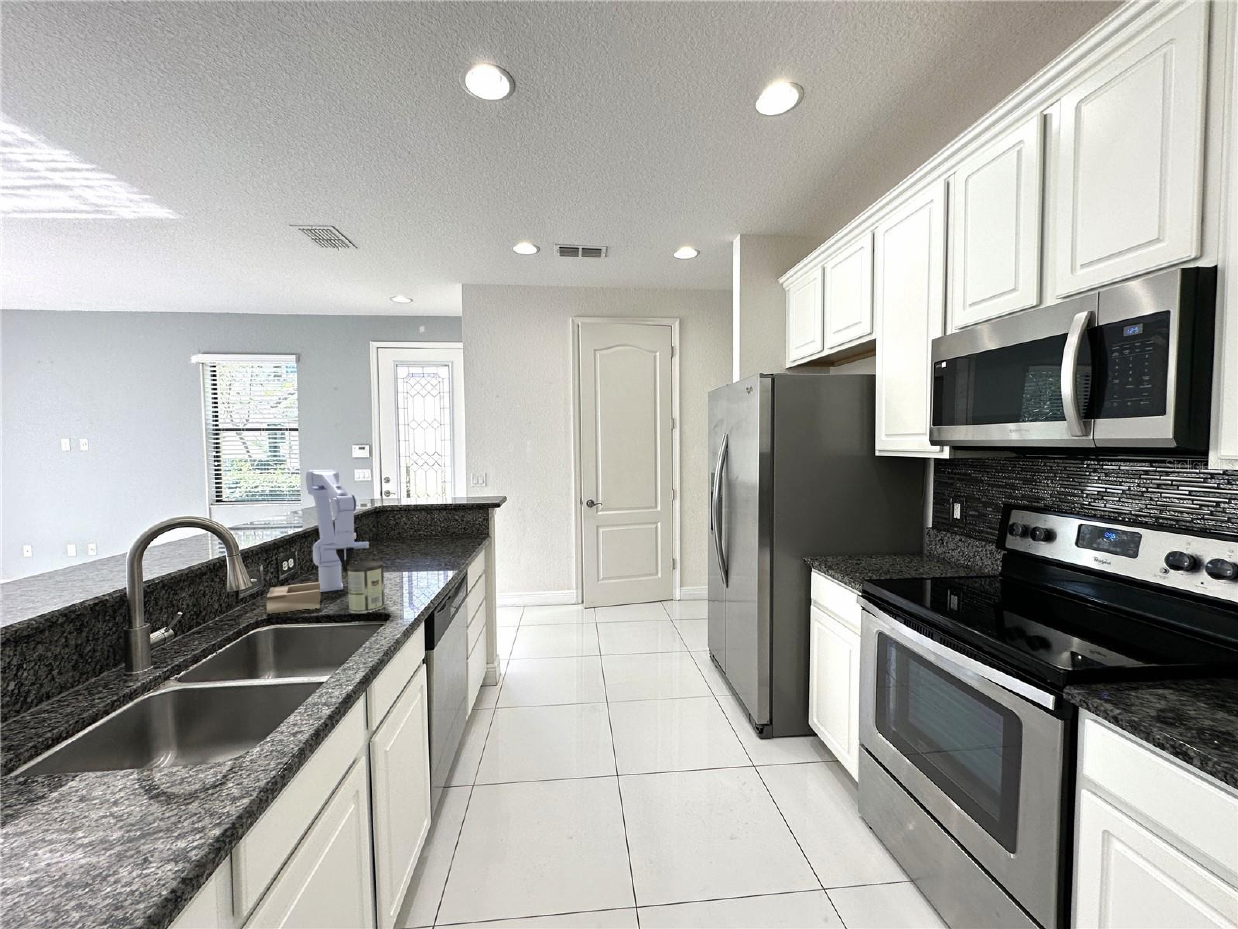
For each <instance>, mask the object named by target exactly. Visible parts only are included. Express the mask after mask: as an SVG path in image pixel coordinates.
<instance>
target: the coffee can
mask: <svg viewBox="0 0 1238 929" xmlns="http://www.w3.org/2000/svg"><path fill="white" fill-rule="evenodd" d="M347 569H348V571H347V583H348V585H347V586H348V593H347V594H348V612H349V613H351V614H368V613H367V612H370V611H373V610H377V609H380V610H382V609H384V608H385V592H384V591H385V590H384V589H385V588H384V562H382V561H378V560H377V561H376V560H375V561H374V560H373V561H372V560H370V561H361V562H354V563H352V564H349V566H347ZM383 607H384V608H383ZM370 613H371V612H370Z"/></svg>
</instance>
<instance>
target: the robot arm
mask: <svg viewBox="0 0 1238 929" xmlns="http://www.w3.org/2000/svg"><path fill="white" fill-rule="evenodd" d="M305 482H306V483H305V484H306V490H307V493H308V495H311V496H313V500H314V505H315V511H316V512H315V513H316V518H317V526H318V532H319V538H320V539H319V540H317V541H316V542H315V543H314V544H313V546H312V561H313V563H314V564H315V566H318V582H320V593H324V592H331V591H332V592H333V591H340V590H343V589H344V586H343V582H342V571H343V572H348V569H347V566H349V565H350V563H351V559H352V556H353V554H354V552H355V550H356V549H357V550H358V549H369V548H370V543H369V541H355V523H354V522H355V519H354V518H355V516H354V513H355V512H356V510H357V499H356V497H355V495H354V494H348V491H346V489H345V487H344V486H343V485H341V484H339V483H340V474H339V471H338V469H335V468H333V469H308V470H307V471H306V476H305ZM333 518H334V522H333Z"/></svg>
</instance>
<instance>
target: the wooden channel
mask: <svg viewBox="0 0 1238 929" xmlns="http://www.w3.org/2000/svg"><path fill="white" fill-rule="evenodd" d="M309 590H311V591H309ZM301 591H304V592H301ZM292 592H296V593H292ZM320 600H321V592H320V582H319V581H317V582H308V583H300V584H292V585H284V586H283V585H282V586H275V587H270V588H269V591H268V593H267V596H266V614H267V613H278V612H288V611H295V610H302V609H310V610H316V609H315V608H317V609H320V608H321V604H320V602H321V601H320ZM302 611H303V610H302ZM295 612H296V611H295ZM288 613H289V612H288Z"/></svg>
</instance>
